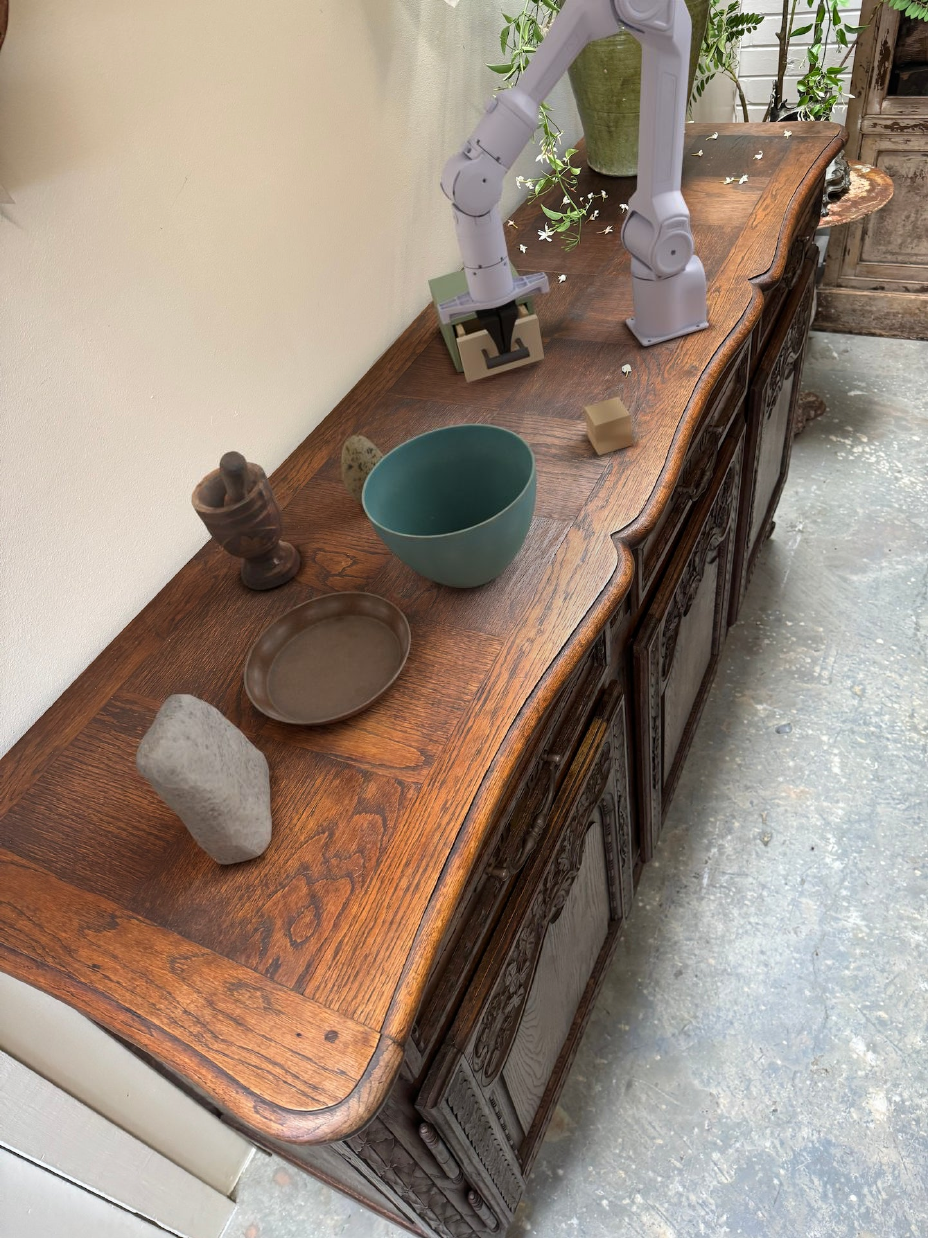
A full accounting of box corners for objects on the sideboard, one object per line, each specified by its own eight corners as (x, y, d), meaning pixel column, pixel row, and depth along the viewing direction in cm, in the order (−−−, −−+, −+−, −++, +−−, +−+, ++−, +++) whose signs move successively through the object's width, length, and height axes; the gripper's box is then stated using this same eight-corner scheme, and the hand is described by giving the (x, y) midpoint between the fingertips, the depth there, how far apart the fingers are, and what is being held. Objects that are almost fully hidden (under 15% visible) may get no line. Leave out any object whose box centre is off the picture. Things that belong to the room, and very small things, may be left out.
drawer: (553, 373, 115) (546, 332, 111) (474, 398, 115) (464, 357, 111) (520, 317, 128) (513, 278, 123) (449, 339, 128) (440, 301, 124)
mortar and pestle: (339, 559, 100) (277, 418, 85) (297, 609, 95) (224, 469, 81) (268, 540, 105) (198, 405, 91) (224, 587, 101) (144, 453, 86)
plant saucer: (321, 592, 96) (311, 574, 94) (448, 631, 88) (442, 612, 85) (221, 709, 87) (209, 691, 85) (353, 765, 79) (343, 747, 76)
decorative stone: (223, 768, 82) (148, 673, 71) (281, 756, 81) (215, 658, 71) (208, 871, 74) (123, 781, 64) (272, 858, 74) (197, 766, 63)
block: (621, 426, 105) (618, 396, 102) (633, 445, 102) (630, 414, 99) (587, 436, 105) (583, 407, 102) (598, 455, 102) (594, 425, 99)
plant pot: (407, 642, 88) (373, 558, 79) (383, 536, 101) (352, 453, 92) (572, 591, 88) (556, 501, 79) (527, 491, 101) (510, 404, 92)
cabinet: (540, 347, 123) (531, 294, 117) (458, 372, 123) (445, 321, 117) (516, 305, 133) (506, 255, 127) (440, 328, 133) (427, 280, 127)
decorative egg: (349, 498, 107) (323, 434, 100) (392, 481, 108) (369, 416, 101) (361, 524, 103) (334, 459, 96) (405, 506, 104) (382, 440, 97)
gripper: (532, 229, 108) (547, 326, 117) (424, 262, 108) (448, 356, 118) (547, 249, 103) (561, 349, 112) (434, 284, 103) (458, 381, 113)
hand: (504, 354), depth 115 cm, fingers closed, pressing on drawer
